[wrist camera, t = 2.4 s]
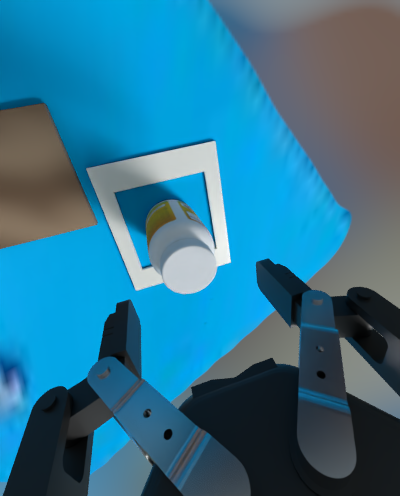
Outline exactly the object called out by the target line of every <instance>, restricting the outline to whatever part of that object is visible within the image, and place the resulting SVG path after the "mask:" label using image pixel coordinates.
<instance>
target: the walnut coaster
mask: <svg viewBox="0 0 400 496" xmlns="http://www.w3.org/2000/svg"><path fill="white" fill-rule="evenodd" d="M97 223H98V222H97V220H96V218H95V215H94V213H93V211H92V209H91V206H90V204H89V202H88V199H87V197H86V195H85V192H84V190H83V188H82V186H81V183H80V181H79V179H78V176H77V174H76V172H75V170H74V167H73V165H72V163H71V160H70V158H69V156H68V153H67V151H66V149H65V147H64V144H63V142H62V140H61V137H60V135H59V133H58V131H57V128H56V126H55V124H54V121H53V119H52V117H51V115H50V112H49V110H48V108H47V105H46V104H44V103H41V104H35V105H30V106H24V107H18V108H12V109H6V110H0V249H2V248H6V247H10V246H14V245H18V244H22V243H26V242H30V241H34V240H38V239H42V238H46V237H50V236H54V235H58V234H62V233H66V232H70V231H74V230H78V229H81V228H85V227H89V226H93V225H97Z"/></svg>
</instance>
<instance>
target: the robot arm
mask: <svg viewBox="0 0 400 496" xmlns="http://www.w3.org/2000/svg"><path fill="white" fill-rule="evenodd" d="M256 273H257V283H258V287H259V289H260V290H261V292H262V293H263V294H264V295H265V297H266V298H267V299H268V300H269V302H270V303H271V304H272V305H273V307H274V308H275V309H276V310H277V312H278V313H279V314H280V315H281V316H282V318H283V319H284V320H285V322H286V323H287V324H288V325H289V326H290V328H291V327H295V326H298V327H299V328H300V340H299V362H298V367H295V366H291V365H286V364H276V363H275V362H274V360H273V358H270V359H267V360H265V361H262V362H259V363H256V364H254V365H252V366H251V367H249V368H248V369H246V370H245V371H244V372H242V373H241V374H240V375H238V376H237V377H234V378H227V379H215V380H210V381H207V382H204V383H202V384H199V385H196V386H194V387H191V389H192V394H193V395H192V396H190V397H189V398H188V399H186V400H185V401H184V402H183V404H182V405H181V406H180V407H179V409H177V408H176V407H175V406H174V405H173V404H171V403H170V402H169V401H168V400H167V399H166V398H165V397H163V396H162V395H161V394H160V393H159V392H158V391H157V390H156V389H154V388H153V387H152V386H151V385H150V384H149V383H148V382H147V381H145V380H144V379H141V325H140V321H139V318H138V315H137V313H136V311H135V308H134V306H133V304H132V301H131V300H126V301H123V302H119V303H117V305H116V313H113V314H110V315H109V317H108V318H107V320H106V321H105V324H104V331H103V335H102V336H103V338H102V341H101V346H100V352H99V357H98V362H96V363H95V364H94V365H93V366H92V368H91V369H90V371H89V373H88V376H87V378H85V379H84V380H83V381H81V382H80V383H78V384H76V385H75V386H73V387H72V388H70V389H68V390H67V389H66V388H65V387H63V386H58V387H54V388H52V389H50V390H49V391H47V392H46V393H44V394H43V395H42V396H41V397H40V398H39V399H38V401H37V402H36V403H35V405H34V407H33V409H32V411H31V414H30V417H29V420H28V423H27V426H26V429H25V432H24V435H23V438H22V441H21V444H20V447H19V449H18V452H17V455H16V458H15V461H14V464H13V467H12V470H11V473H10V476H9V479H8V482H7V485H6V488H5V491H4V494H3V496H87V495H88V484H89V475H90V465H91V455H92V445H93V435H94V430H96V429H97V428H98V427H100V426H101V425H102V424H104V423H105V422H106V421H108V420H109V419H110V418H112V417H113V418H114V419H115V420H116V421H117V422H118V424H119V425H120V426H121V427H122V429H123V430H124V431H125V432H126V433H127V435H128V436H129V437H130V438H131V440H132V441H133V442H134V443H135V444H136V446H137V447H138V448H139V450H140V451H141V452H142V454H143V455H144V456H145V457H146V459H147V460H148V461H149V462H150V463H151V465H152V466H153V467H152V470H151V472H150V475H149V477H148V479H147V482H146V484H145V487H144V489H143V492H142V494H141V496H400V419H398V418H396V417H394V416H392V415H390V414H388V413H386V412H384V411H382V410H380V409H378V408H376V407H375V406H372V405H370V404H369V403H367V402H365V401H363V400H361V399H358V398H357V397H355V396H353V395H351V394H349V393H347V392H346V387H345V379H344V371H343V363H342V356H341V348H340V340H339V338H345V339H346V340H347V341H348V342H349V343H350V344H351V345H352V346H353V347H354V348H355V349H356V350H357V352H358V353H359V354H360V355H361V356H362V357H363V358H364V359H365V360H366V361H367V362H368V363H369V364H370V365H371V366H372V368H374V370H375V371H376V372H377V373H378V374H379V375H380V376H381V377H382V378H383V379H384V380H385V381H386V382H387V383H388V385H389V386H390V387H391V388H392V389H393V390H394V391H395V392H396V393H397V394H398V395H399V396H400V309H399V308H398V307H396V306H395V305H393V304H392V303H391V302H389V301H388V300H386V299H385V298H383V297H382V296H380V295H379V294H378V293H376V292H375V291H373V290H371V289H368V288H364V287H353V288H351V289H349V290H348V292H347V296H335V297H330V296H329V295H328V294H327V293H325V292H323V291H319V290H312V289H311V288H310V287H308V286H307V285H306V284H305V283H304V282H303V281H302V280H300V279H299V278H298V277H296V275H295V274H294V273H292V272H291V271H290V270H289V269H288V268H287V267H285V266H283V265H280V264H276V265H275V264H274V263H273V262H272V261H271V260H270V259H265V260H261V261H258V262H256ZM373 328H374V329H375V330H374V329H373ZM379 333H380V334H381V335H382V336H383V337H382V336H381V335H380V334H379Z"/></svg>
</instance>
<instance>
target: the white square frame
mask: <svg viewBox="0 0 400 496" xmlns="http://www.w3.org/2000/svg"><path fill="white" fill-rule="evenodd" d="M86 170H87V172H88V175H89V177H90V180H91V182H92V185H93V187H94V189H95V192H96V194H97V197H98V199H99V202H100V204H101V206H102V209H103V211H104V214H105V216H106V219H107V221H108V223H109V226H110V228H111V231H112V233H113V236H114V238H115V241H116V243H117V245H118V248H119V250H120V253H121V255H122V258H123V260H124V262H125V265H126V267H127V270H128V272H129V275H130V277H131V279H132V282H133V284H134V287H135V289H136V291H137V290H140V289H143V288H147V287H150V286H153V285H157V284H160V283H163V279H162V276H161V275H160V274H158V273H157V272H156V271H155V269H154V268H153V266H150V267H146V268H143V269H142V267H141V264H140V261H139V258H138V256H137V253H136V250H135V248H134V245H133V242H132V240H131V237H130V234H129V231H128V229H127V226H126V223H125V221H124V218H123V215H122V213H121V210H120V207H119V204H118V202H117V199H116V196H115V194H114V192H118V191H123V190H127V189H131V188H135V187H140V186H144V185H148V184H153V183H157V182H161V181H165V180H170V179H174V178H178V177H182V176H187V175H191V174H195V173H200V172H204V175H205V181H206V188H207V194H208V200H209V206H210V213H211V219H212V225H213V231H214V238H215V244H216V248H215V252H214V256H215V258H216V262H217V266H220V265H224V264H227V263H230V262H231V260H230V252H229V244H228V236H227V228H226V221H225V213H224V205H223V197H222V189H221V181H220V173H219V165H218V158H217V150H216V142H215V141H211V142H206V143H202V144H197V145H192V146H188V147H183V148H178V149H174V150H169V151H164V152H160V153H155V154H151V155H146V156H141V157H137V158H132V159H127V160H123V161H118V162H113V163H109V164H104V165H99V166H95V167H90V168H86Z"/></svg>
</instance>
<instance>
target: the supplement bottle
mask: <svg viewBox="0 0 400 496" xmlns="http://www.w3.org/2000/svg"><path fill="white" fill-rule="evenodd" d="M146 235H147V245H148V253H149V258H150V262H151V264H152V266H153V268H154V269H155V271H156V272H157V273H158V274H160V275H161V276H162V279H163V282H164V283H165V285H166V286H167V287H168V288H169V289H171V290H172V291H174V292H177V293H181V294H190V293H195V292H198V291H200V290H202V289H204V288H205V287H206V286H208V285H209V284H210V283H211V281H212V280H213V278H214V277H215V274H216V271H217V262H216V258H215V256H214V252H215V246H214V241H213V238H212V236H211V234H210V233H209V231H208V230H207V228H206V227H205V226H204V224H203V223H202V222H201V221H200V219H199V218H198V217H197V215H196V214H195V213H194V211H193V210H192V209H191V208H190V207H189V206H188V205H187V204H185V203H184V202H181V201H179V200H165V201H162V202H160V203H158V204H156V205H155V206H154V207H153V208H152V209H151V210H150V212H149V213H148V216H147V219H146Z"/></svg>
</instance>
